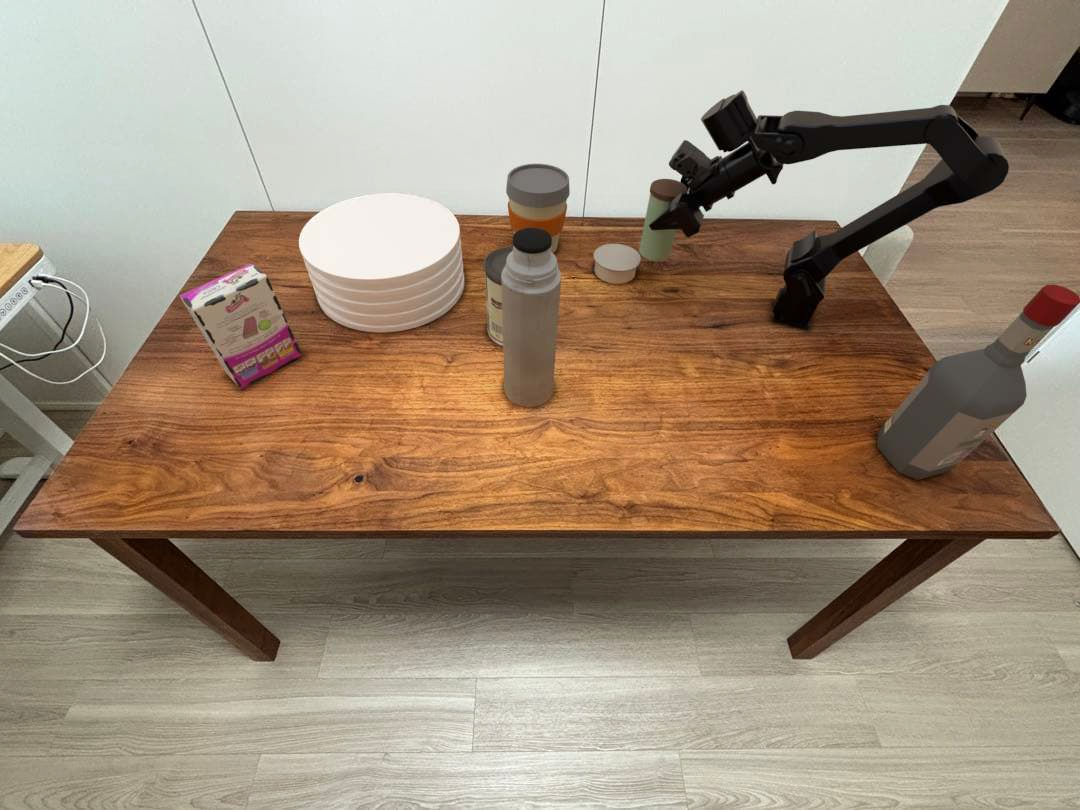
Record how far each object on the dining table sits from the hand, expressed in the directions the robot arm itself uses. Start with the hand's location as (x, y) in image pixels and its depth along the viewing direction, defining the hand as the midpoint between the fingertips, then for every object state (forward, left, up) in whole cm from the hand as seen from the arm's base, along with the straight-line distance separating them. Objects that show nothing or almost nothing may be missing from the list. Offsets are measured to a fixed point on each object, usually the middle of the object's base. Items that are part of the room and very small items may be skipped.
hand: (654, 219), depth 99 cm
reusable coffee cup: (+24, -3, -13) cm, 27 cm away
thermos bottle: (+12, +37, -13) cm, 41 cm away
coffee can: (+19, +24, -13) cm, 33 cm away
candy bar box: (+55, +47, -13) cm, 73 cm away
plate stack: (+46, +20, -13) cm, 51 cm away
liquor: (-47, +30, -13) cm, 57 cm away
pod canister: (-1, 0, -7) cm, 7 cm away
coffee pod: (+6, 0, -13) cm, 14 cm away
